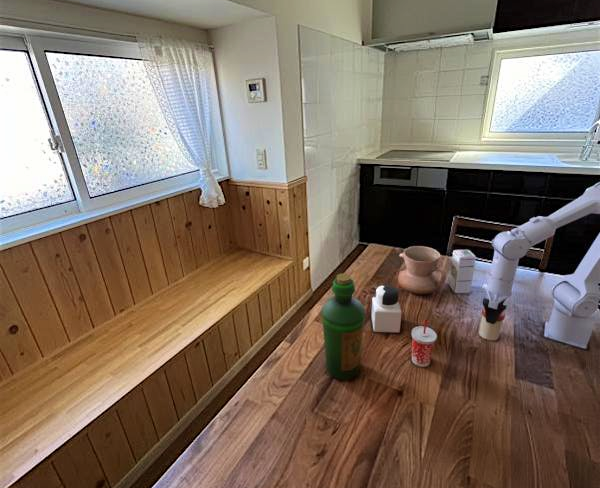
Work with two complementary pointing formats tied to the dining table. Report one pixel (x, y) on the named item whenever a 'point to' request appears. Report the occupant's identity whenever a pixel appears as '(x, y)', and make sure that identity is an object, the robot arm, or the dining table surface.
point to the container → (386, 310)
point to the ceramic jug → (421, 270)
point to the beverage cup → (422, 344)
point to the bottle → (343, 329)
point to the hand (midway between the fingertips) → (492, 316)
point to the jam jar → (489, 329)
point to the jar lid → (500, 318)
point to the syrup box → (462, 271)
